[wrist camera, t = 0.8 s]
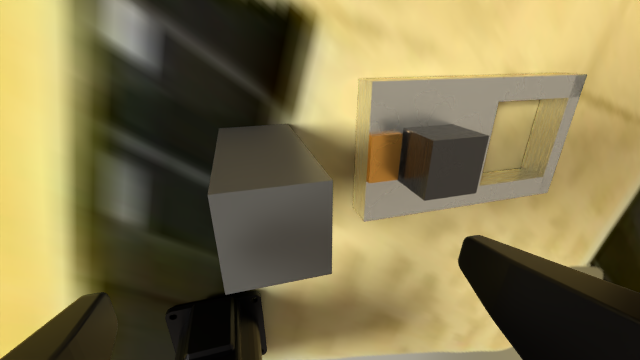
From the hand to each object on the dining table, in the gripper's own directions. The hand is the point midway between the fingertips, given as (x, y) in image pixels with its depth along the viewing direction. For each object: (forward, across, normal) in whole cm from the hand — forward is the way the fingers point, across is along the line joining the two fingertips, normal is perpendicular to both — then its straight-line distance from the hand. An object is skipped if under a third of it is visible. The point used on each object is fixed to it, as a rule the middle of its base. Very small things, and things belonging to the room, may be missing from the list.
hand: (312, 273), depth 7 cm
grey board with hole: (+12, -14, +1) cm, 18 cm away
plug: (+12, +1, +1) cm, 12 cm away
